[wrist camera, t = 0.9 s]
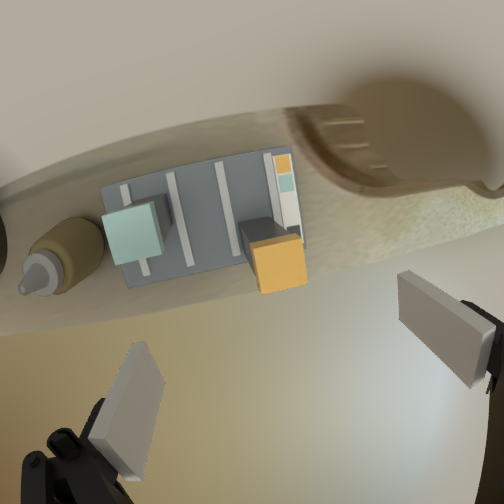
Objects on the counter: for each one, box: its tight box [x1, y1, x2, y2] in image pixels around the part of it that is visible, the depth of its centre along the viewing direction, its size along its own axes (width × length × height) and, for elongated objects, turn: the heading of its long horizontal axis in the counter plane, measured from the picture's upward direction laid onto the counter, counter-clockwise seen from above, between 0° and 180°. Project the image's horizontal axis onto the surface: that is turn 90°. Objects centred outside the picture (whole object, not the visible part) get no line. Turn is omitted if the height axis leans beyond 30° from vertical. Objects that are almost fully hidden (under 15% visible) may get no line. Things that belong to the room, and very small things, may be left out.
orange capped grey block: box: [238, 216, 308, 295], centre depth 33 cm, size 4×4×13 cm
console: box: [100, 146, 306, 288], centre depth 38 cm, size 25×14×4 cm, turn 100°
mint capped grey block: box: [101, 193, 173, 265], centre depth 30 cm, size 4×4×13 cm
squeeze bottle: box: [18, 217, 104, 296], centre depth 29 cm, size 8×8×18 cm
